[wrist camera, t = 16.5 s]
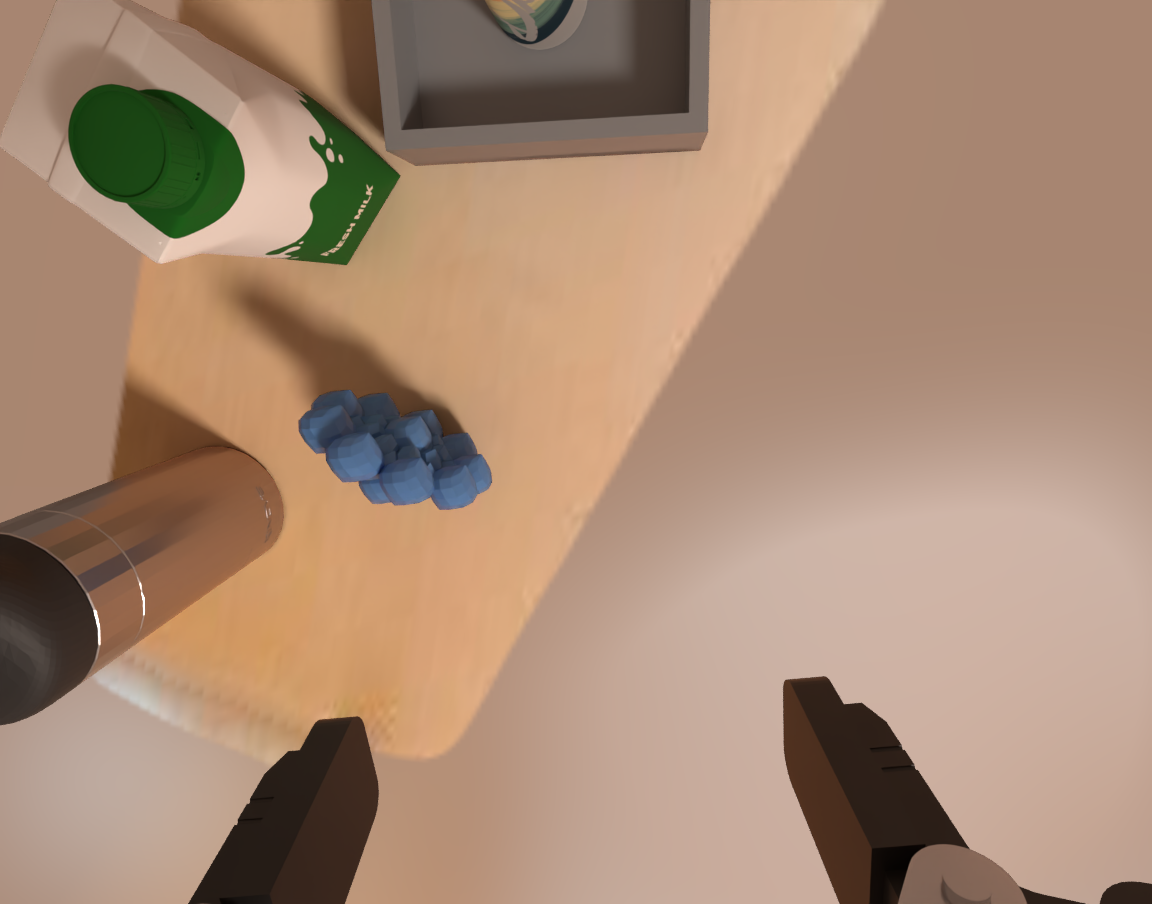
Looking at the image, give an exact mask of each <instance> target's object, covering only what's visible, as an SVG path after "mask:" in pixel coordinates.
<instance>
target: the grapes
mask: <svg viewBox="0 0 1152 904" xmlns="http://www.w3.org/2000/svg"><path fill="white" fill-rule="evenodd" d="M299 432H300V434H301V436H302V438H303V439H304V441H305V442H306V443H307V444H308V446H309V447H310V448H311V449H312V450H313V451H314V452H315V453H316V454H318V453H326V461H327V463H328V465H329V467H330V468H331V470H332V471H333V472H334V474H335V475H336V476H337V477H338V478H339V479H340V480H341V481H342V482H357V481H359V487H360V488H361V490H362V492H363V494H364V495H365V496H366V497H367V498H368V499H369V500H370V502H371V503H372V504H383V503H389V502H392V503H393V504H394V505H408V504H415V503H420V502H422V501H424V500H426V499H428V498H430V497H431V498H432V500H433V502H434V503H435V505H436V506H437V507H438V508H439V510H449V509H456V508H462V507H465V506H467V505H469V504H471V503H472V502H473V501H474V499H475V498H476V496H477V494H480V493H482V492H484V491H486V490H487V489H489V487H490V485H491V483H492V476H491V471H490V468H489V466H488V464H487V462H486V460H485V459H484V457H483V456H482V454H477V449H476V447H475V445H474V443H473V441H472V439H471V437H470V436H469V434H468V433H457V434H450V435H447V436H445V437H443V429H442V426H441V424H440V422H439V420H438V418H437V416H436V415H435V413H434V412H433V411H432V410H421V411H414V412H411V413H409V414H406V415H404V416H402V417H400V413H399V411H398V409H397V407H396V405H395V403H394V402H393V400H392V398H391V397H390V396H389V394H388V393H378V394H370V395H366V396H364V397H361V398H359V399H357V397H356V396H355V395H354V394H353V392H352V391H351V390H341V391H333V392H328V393H326V394H323V395H320V396H319V397H318V398H317V399H316V400H315V401H314V402H313V403H312V405H311V410H310V411H307V412H306V413H305V414H304V415H303V416H302V418H301V419H300V420H299Z"/></svg>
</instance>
